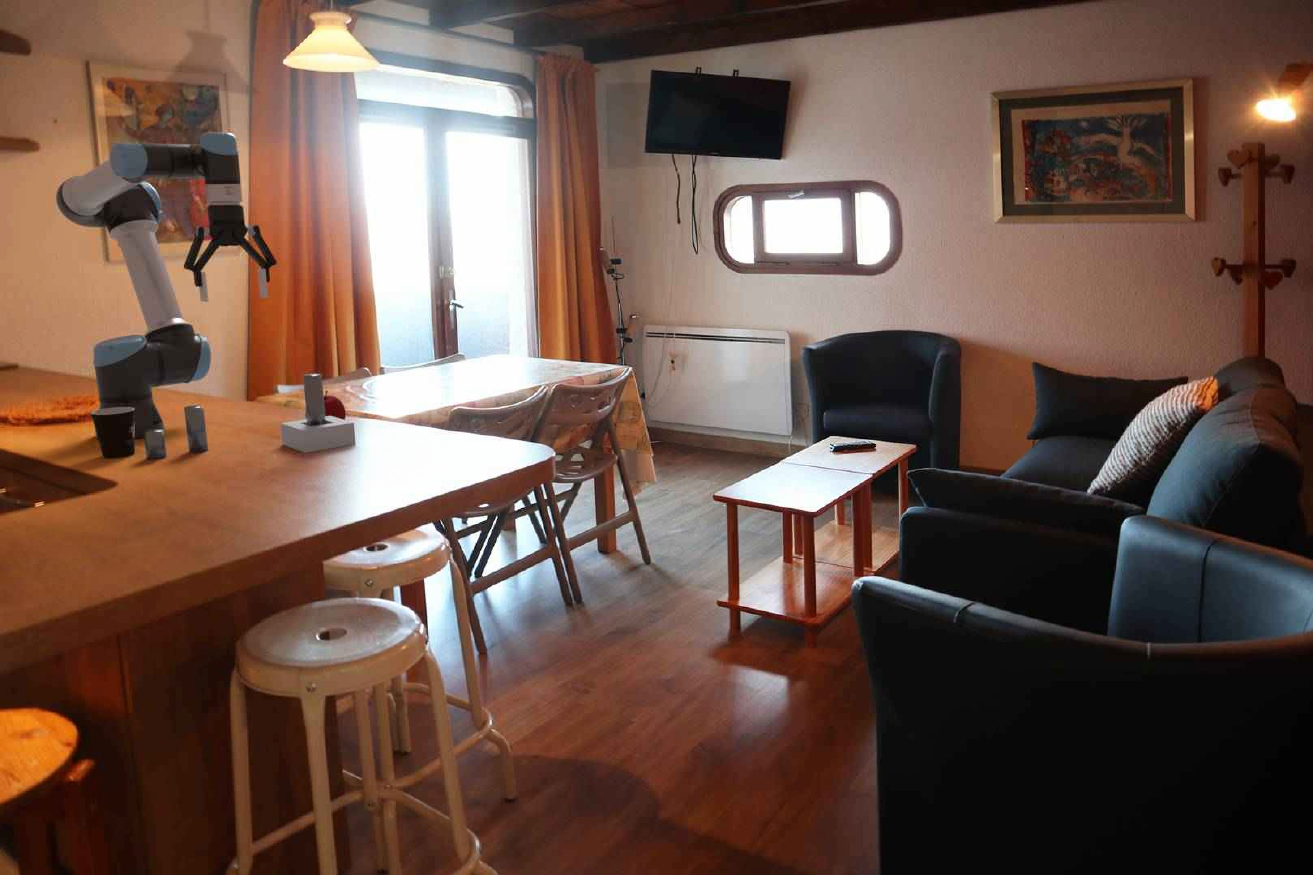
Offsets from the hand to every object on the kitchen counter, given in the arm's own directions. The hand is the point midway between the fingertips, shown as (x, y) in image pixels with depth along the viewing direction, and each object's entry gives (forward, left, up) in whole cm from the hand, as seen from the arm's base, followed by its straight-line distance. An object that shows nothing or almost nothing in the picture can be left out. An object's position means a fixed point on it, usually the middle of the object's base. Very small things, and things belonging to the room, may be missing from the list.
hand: (234, 299), depth 246 cm
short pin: (+4, -22, -33) cm, 40 cm away
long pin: (+18, +9, -33) cm, 38 cm away
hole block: (+18, +9, -33) cm, 38 cm away
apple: (+5, +17, -33) cm, 38 cm away
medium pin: (+4, -13, -33) cm, 35 cm away
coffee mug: (-6, -26, -33) cm, 42 cm away
